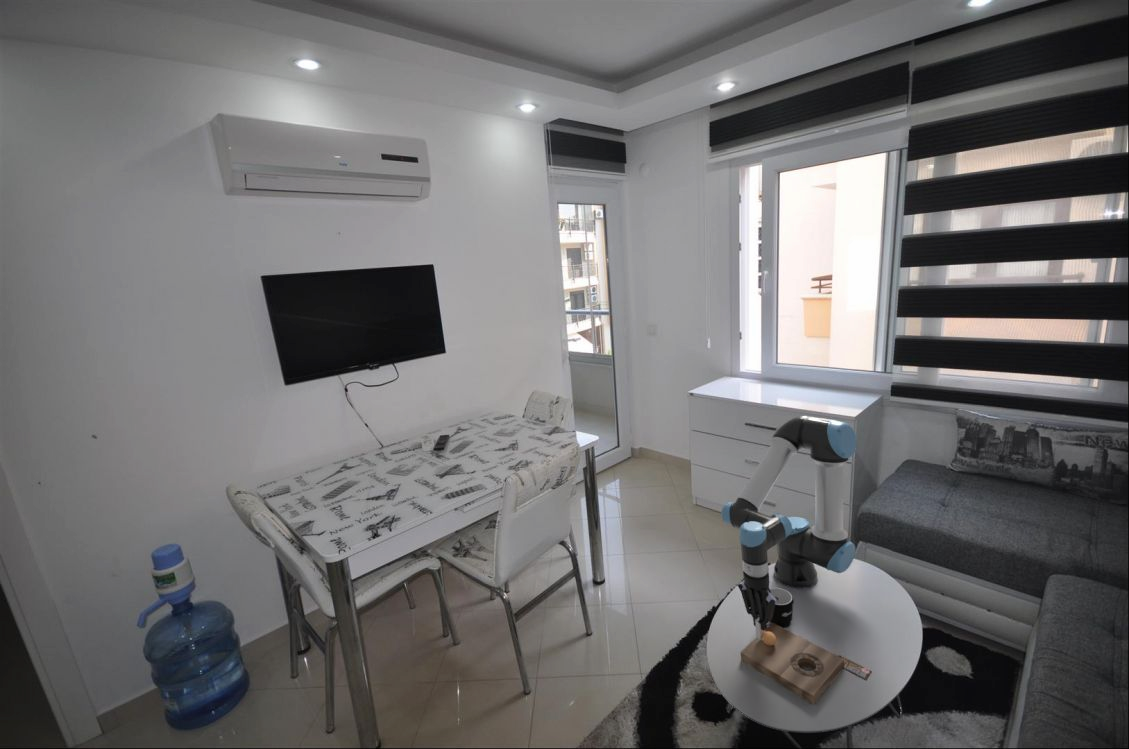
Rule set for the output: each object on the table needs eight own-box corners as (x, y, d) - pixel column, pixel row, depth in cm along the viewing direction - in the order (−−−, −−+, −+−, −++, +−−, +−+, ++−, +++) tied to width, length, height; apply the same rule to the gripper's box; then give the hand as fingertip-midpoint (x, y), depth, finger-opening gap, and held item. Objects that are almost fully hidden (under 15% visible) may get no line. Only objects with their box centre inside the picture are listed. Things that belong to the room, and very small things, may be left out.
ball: (767, 637, 160) (766, 626, 159) (779, 643, 157) (778, 632, 156) (760, 644, 158) (759, 633, 157) (771, 650, 154) (771, 639, 154)
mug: (783, 635, 163) (781, 608, 161) (760, 621, 171) (758, 595, 169) (805, 618, 169) (803, 592, 167) (782, 605, 177) (780, 580, 175)
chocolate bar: (875, 674, 145) (875, 671, 145) (868, 684, 142) (868, 681, 142) (836, 654, 154) (836, 652, 153) (829, 663, 151) (829, 661, 151)
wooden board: (741, 660, 156) (740, 652, 156) (772, 630, 166) (772, 622, 166) (813, 704, 138) (813, 695, 137) (844, 667, 148) (843, 659, 147)
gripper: (730, 568, 158) (736, 632, 162) (768, 585, 147) (773, 653, 152) (744, 557, 162) (750, 620, 166) (782, 573, 151) (786, 640, 156)
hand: (761, 636), depth 159 cm, fingers closed
